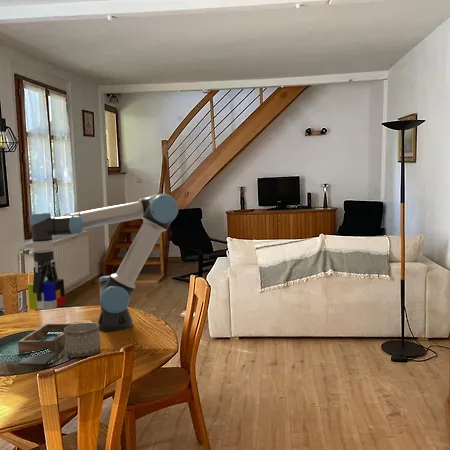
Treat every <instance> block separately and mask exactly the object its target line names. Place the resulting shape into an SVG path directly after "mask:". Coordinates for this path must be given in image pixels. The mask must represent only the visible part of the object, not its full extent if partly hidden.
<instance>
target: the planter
mask: <svg viewBox="0 0 450 450" xmlns="http://www.w3.org/2000/svg"><path fill="white" fill-rule="evenodd" d="M75 323H76V322H75ZM64 335H65V345H64V348H65V354H66V355H67V356H68V357H73V358H81V357H82V358H84V357H88V356H92V355H94V354H97V353H99V352H100V350H101V341H100V339H101V338H100V330H99V325H98V322H94V321H93V322H92V321H86V322H84V321H83V322H77V323H76V324H72V325H69V326H67V327H65V328H64Z"/></svg>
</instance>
